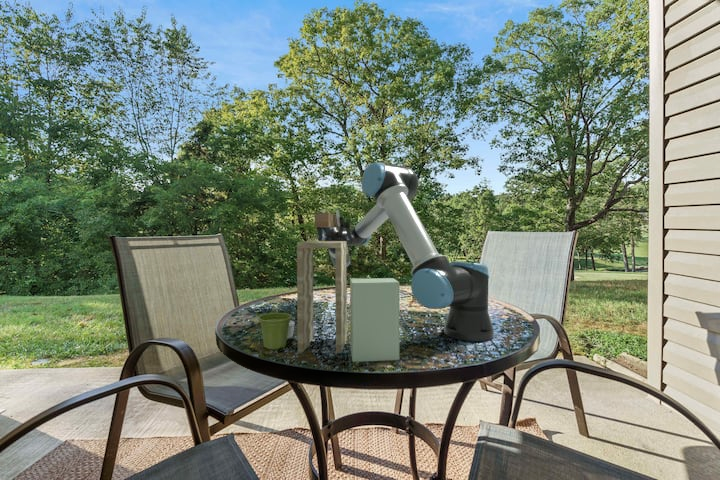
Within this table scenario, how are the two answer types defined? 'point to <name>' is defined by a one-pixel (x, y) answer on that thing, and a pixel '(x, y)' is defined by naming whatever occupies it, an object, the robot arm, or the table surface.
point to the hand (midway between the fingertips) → (330, 213)
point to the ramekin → (290, 329)
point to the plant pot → (275, 329)
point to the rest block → (374, 319)
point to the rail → (326, 220)
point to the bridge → (307, 291)
